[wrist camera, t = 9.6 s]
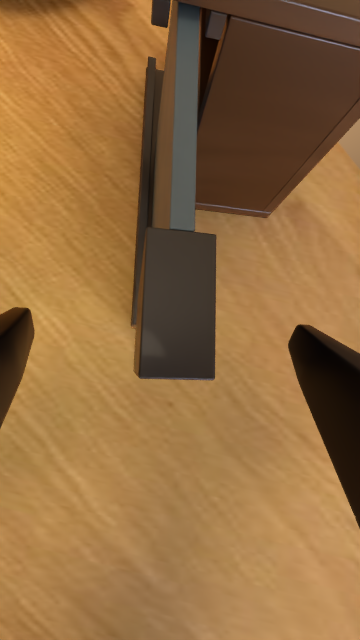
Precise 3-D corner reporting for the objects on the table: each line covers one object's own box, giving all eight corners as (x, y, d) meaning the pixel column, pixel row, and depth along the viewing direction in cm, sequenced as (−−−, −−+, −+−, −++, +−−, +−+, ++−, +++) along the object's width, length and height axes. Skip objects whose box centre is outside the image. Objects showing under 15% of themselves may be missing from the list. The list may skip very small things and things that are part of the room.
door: (167, 372, 18) (215, 380, 8) (133, 371, 18) (138, 378, 8) (175, 147, 21) (219, -60, 11) (145, 142, 21) (162, -76, 10)
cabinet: (269, 335, 21) (471, 291, 9) (131, 328, 20) (133, 260, 7) (264, 101, 25) (403, -172, 12) (145, 77, 23) (165, -270, 10)
